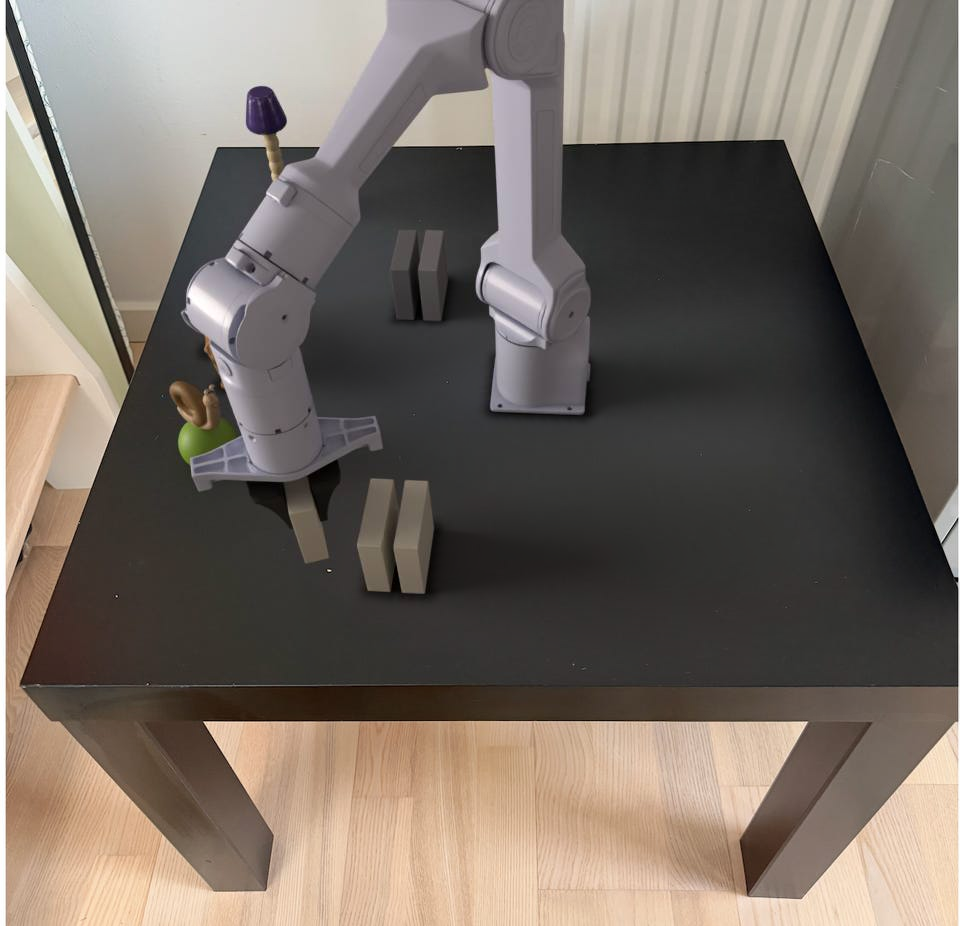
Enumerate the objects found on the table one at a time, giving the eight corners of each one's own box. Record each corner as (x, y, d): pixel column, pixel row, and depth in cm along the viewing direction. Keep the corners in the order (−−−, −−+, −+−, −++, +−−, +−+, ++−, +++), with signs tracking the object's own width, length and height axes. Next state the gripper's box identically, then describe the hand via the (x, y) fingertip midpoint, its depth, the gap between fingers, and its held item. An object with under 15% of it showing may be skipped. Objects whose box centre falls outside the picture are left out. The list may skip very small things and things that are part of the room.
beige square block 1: (401, 526, 83) (393, 479, 78) (390, 592, 79) (381, 546, 73) (380, 525, 83) (370, 478, 78) (367, 590, 79) (356, 545, 73)
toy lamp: (314, 212, 114) (288, 86, 101) (290, 232, 112) (261, 105, 99) (285, 201, 116) (256, 76, 103) (261, 220, 114) (228, 94, 101)
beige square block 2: (434, 528, 83) (428, 480, 77) (424, 594, 78) (417, 548, 73) (412, 527, 83) (405, 479, 78) (401, 592, 79) (393, 547, 73)
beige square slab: (315, 495, 81) (301, 443, 75) (329, 558, 76) (314, 508, 71) (293, 500, 80) (277, 449, 75) (305, 564, 76) (289, 514, 71)
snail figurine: (224, 494, 86) (189, 408, 77) (175, 468, 88) (135, 381, 79) (262, 456, 89) (232, 369, 80) (213, 432, 91) (179, 344, 82)
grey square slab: (422, 279, 105) (417, 229, 100) (414, 320, 101) (408, 270, 96) (405, 279, 105) (399, 229, 100) (396, 319, 101) (389, 269, 96)
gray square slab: (447, 280, 105) (444, 230, 100) (441, 321, 101) (436, 270, 95) (430, 280, 105) (426, 229, 100) (423, 320, 101) (417, 270, 95)
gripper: (360, 349, 70) (381, 461, 80) (170, 390, 68) (216, 499, 78) (379, 413, 66) (398, 522, 76) (176, 459, 63) (225, 565, 74)
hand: (307, 515), depth 77 cm, fingers closed on beige square slab, 2 cm apart
